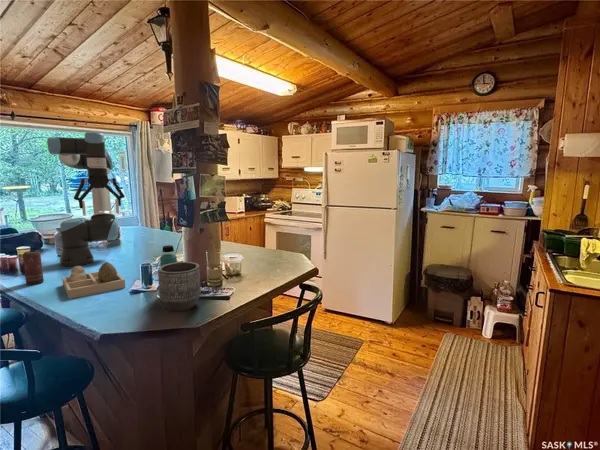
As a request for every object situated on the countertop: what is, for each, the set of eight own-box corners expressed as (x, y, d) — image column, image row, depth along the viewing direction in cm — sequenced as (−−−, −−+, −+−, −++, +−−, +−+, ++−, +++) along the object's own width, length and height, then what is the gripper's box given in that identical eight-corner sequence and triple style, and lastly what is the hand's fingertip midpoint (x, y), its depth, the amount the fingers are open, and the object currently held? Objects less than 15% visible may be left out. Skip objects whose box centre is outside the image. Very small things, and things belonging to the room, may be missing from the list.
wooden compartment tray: (63, 285, 149) (62, 277, 149) (114, 276, 162) (113, 268, 161) (69, 298, 134) (68, 290, 134) (125, 287, 147) (124, 279, 146)
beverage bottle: (164, 291, 142) (161, 244, 139) (181, 291, 142) (178, 243, 139) (159, 297, 136) (156, 247, 132) (176, 297, 136) (174, 247, 133)
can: (47, 281, 154) (44, 250, 152) (32, 286, 148) (28, 254, 146) (38, 280, 156) (34, 249, 154) (23, 284, 150) (18, 253, 148)
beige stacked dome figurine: (69, 283, 149) (67, 265, 148) (85, 280, 153) (84, 263, 151) (71, 287, 144) (69, 268, 143) (88, 284, 148) (86, 266, 147)
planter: (191, 296, 138) (189, 259, 135) (207, 306, 127) (206, 267, 125) (154, 305, 128) (152, 266, 126) (169, 317, 118) (166, 275, 115)
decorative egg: (98, 288, 142) (96, 265, 141) (99, 283, 149) (96, 261, 147) (118, 286, 146) (116, 263, 144) (117, 281, 152) (116, 259, 150)
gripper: (65, 167, 146) (70, 217, 150) (129, 167, 162) (132, 212, 165) (63, 167, 152) (68, 215, 155) (125, 167, 168) (128, 211, 171)
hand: (101, 214), depth 160 cm, fingers open, 13 cm apart
